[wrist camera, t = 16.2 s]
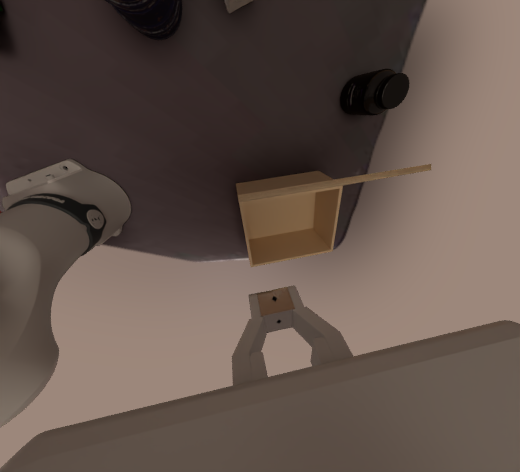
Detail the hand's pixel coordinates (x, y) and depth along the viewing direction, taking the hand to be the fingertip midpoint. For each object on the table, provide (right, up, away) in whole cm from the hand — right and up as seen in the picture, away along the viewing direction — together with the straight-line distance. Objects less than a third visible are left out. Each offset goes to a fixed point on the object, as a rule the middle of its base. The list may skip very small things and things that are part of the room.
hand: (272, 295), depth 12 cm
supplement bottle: (+20, +35, +29) cm, 49 cm away
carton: (+5, +12, +41) cm, 43 cm away
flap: (+7, +11, +17) cm, 21 cm away
